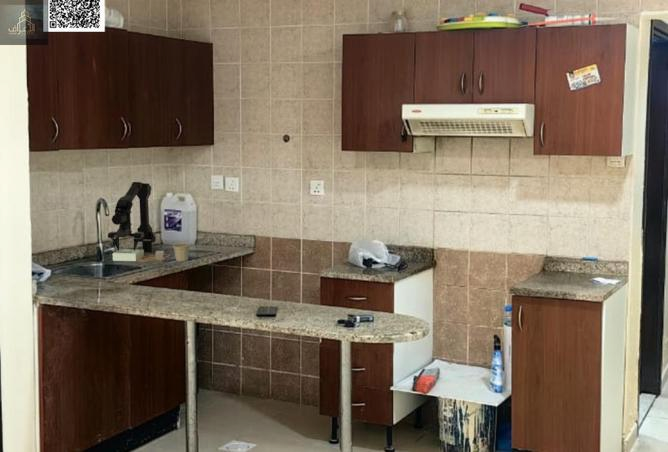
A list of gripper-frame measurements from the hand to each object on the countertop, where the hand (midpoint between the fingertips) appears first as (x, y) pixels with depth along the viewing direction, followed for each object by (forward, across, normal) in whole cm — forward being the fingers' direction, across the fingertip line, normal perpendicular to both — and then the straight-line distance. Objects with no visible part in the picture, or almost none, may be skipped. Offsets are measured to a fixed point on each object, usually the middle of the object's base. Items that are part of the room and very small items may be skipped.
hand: (126, 250), depth 537 cm
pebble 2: (+5, +18, +4) cm, 19 cm away
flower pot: (+6, +30, +2) cm, 31 cm away
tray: (+6, +14, +4) cm, 16 cm away
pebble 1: (+5, 0, 0) cm, 5 cm away
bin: (+6, 0, +2) cm, 6 cm away
